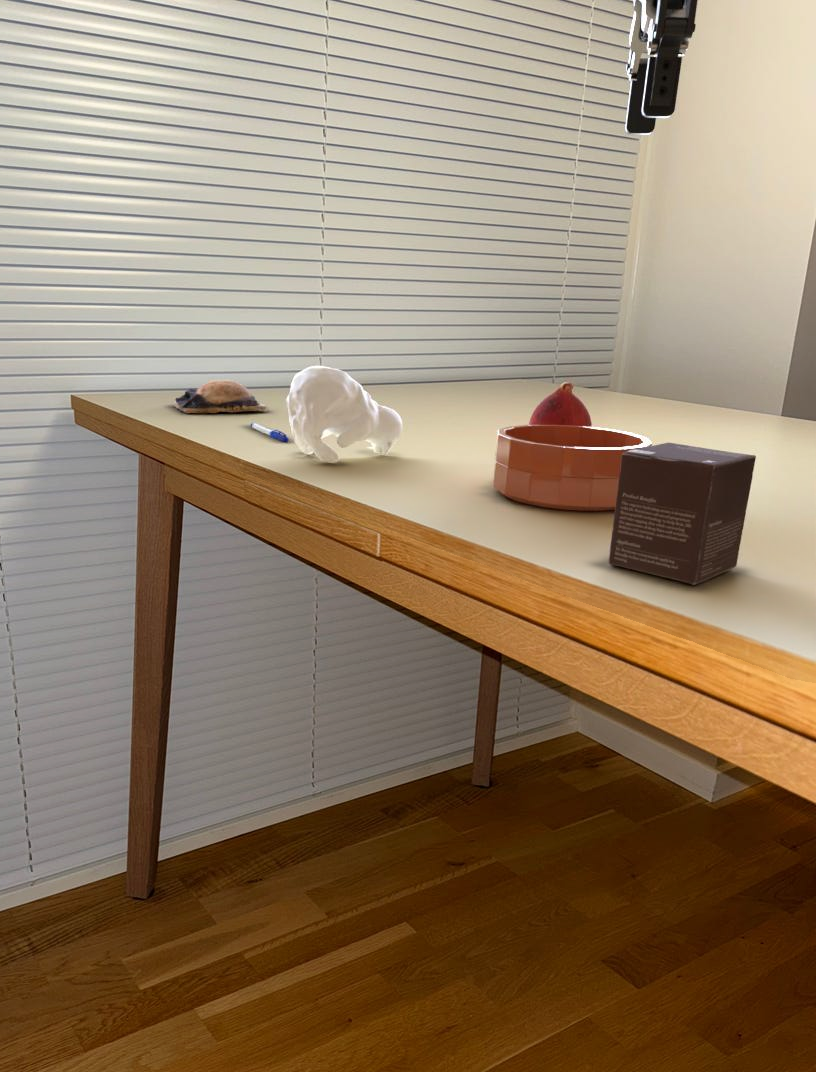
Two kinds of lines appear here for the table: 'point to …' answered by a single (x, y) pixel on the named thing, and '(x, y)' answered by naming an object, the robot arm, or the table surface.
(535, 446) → the bowl
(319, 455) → the white animal figurine
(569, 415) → the onion
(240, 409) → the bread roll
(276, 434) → the ballpoint pen
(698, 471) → the box
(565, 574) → the table surface
